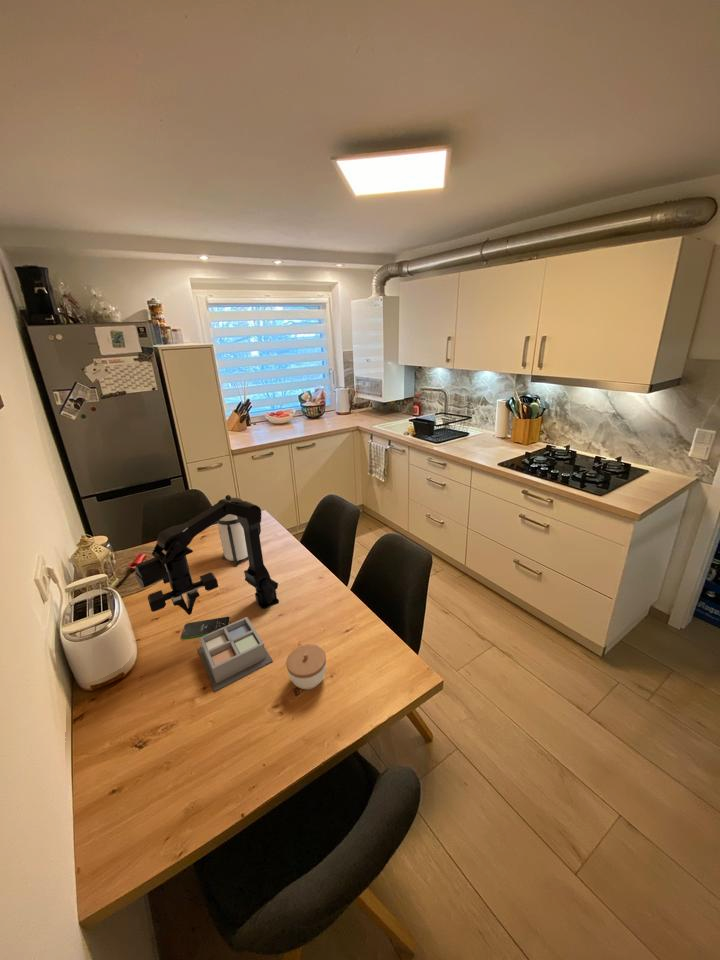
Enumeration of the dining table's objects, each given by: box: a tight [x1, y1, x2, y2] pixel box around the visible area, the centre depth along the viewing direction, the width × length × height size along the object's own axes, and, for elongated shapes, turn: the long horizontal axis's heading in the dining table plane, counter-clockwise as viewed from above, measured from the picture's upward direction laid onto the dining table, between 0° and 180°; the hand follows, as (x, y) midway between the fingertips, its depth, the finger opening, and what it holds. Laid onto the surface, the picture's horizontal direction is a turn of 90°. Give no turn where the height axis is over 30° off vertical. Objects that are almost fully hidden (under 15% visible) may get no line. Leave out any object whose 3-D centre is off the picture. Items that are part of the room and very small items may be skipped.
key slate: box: [229, 625, 249, 639], centre depth 120 cm, size 6×6×3 cm
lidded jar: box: [285, 643, 327, 691], centre depth 105 cm, size 11×11×9 cm
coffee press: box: [216, 494, 262, 567], centre depth 166 cm, size 17×16×30 cm
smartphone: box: [180, 616, 231, 640], centre depth 128 cm, size 8×1×15 cm
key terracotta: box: [212, 648, 234, 665], centre depth 111 cm, size 6×6×3 cm
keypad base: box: [197, 616, 273, 692], centre depth 115 cm, size 17×19×6 cm
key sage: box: [235, 635, 258, 653], centre depth 114 cm, size 6×6×3 cm
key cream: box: [206, 635, 227, 650], centre depth 117 cm, size 6×6×3 cm
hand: (189, 613), depth 117 cm, fingers closed
